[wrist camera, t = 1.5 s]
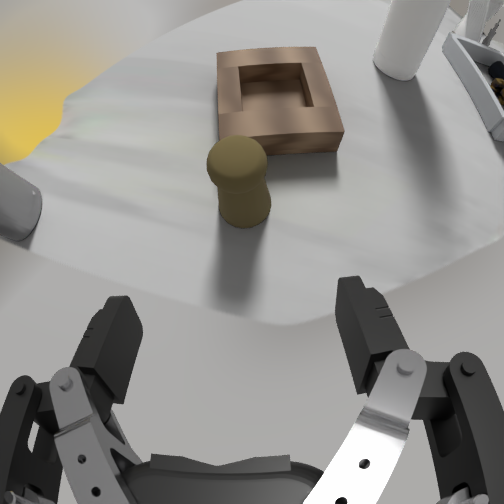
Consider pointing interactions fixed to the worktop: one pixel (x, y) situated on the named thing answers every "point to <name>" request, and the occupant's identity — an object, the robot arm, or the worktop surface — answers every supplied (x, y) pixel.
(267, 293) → the worktop surface
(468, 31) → the skyscraper
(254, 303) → the worktop surface
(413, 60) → the bottle
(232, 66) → the socket block
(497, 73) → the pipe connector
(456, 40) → the tray rim
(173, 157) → the worktop surface
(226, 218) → the cork
